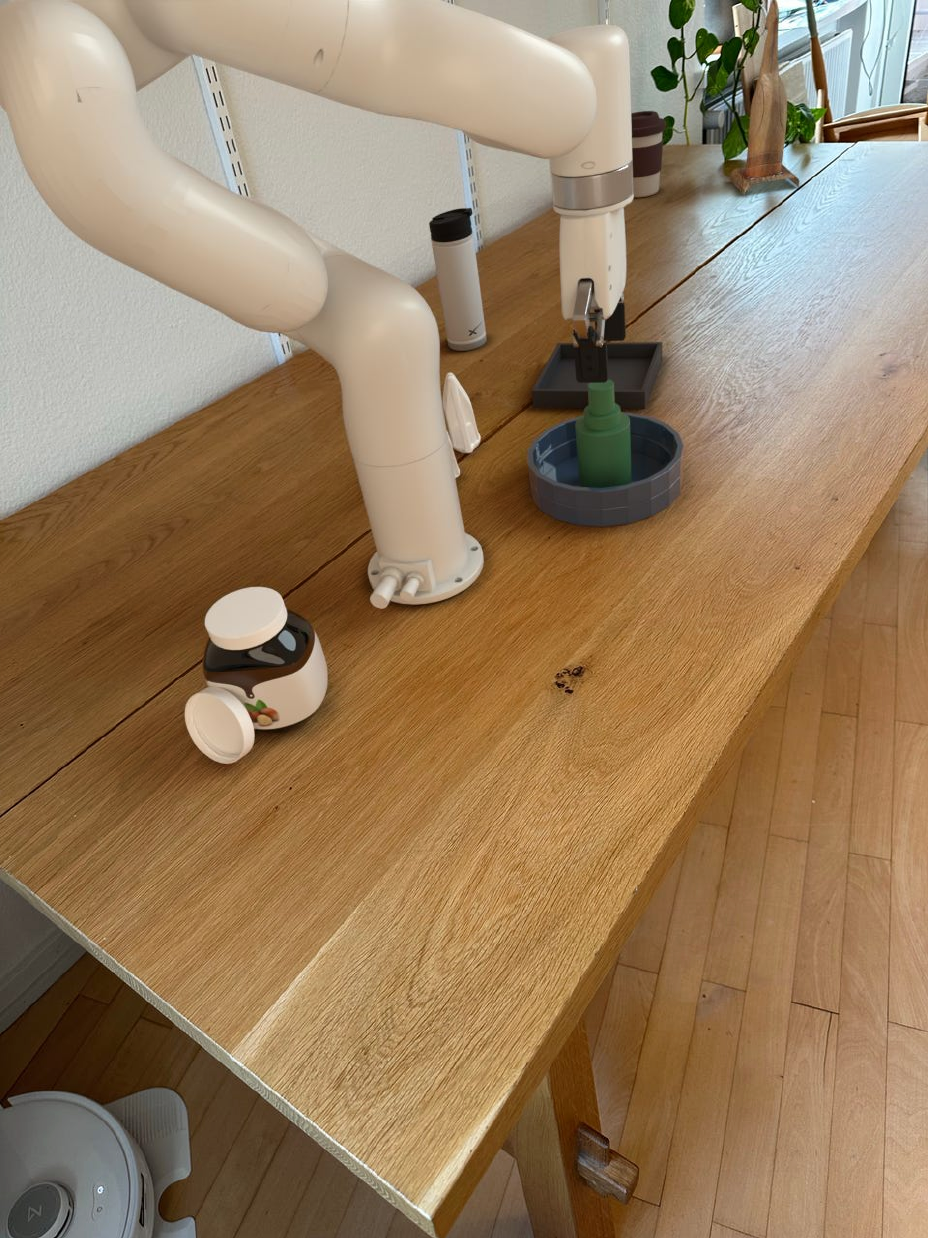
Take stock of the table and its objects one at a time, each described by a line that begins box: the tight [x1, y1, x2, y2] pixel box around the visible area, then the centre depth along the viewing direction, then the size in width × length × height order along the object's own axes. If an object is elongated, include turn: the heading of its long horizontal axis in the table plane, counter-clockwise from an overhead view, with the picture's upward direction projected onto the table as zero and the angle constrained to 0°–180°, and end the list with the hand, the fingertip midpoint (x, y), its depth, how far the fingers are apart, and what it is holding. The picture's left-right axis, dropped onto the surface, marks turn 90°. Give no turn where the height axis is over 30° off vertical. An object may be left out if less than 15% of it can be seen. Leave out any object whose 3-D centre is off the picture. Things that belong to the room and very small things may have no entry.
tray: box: [531, 341, 663, 410], centre depth 121 cm, size 15×15×3 cm
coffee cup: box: [631, 110, 667, 199], centre depth 183 cm, size 10×10×15 cm
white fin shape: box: [442, 372, 482, 479], centre depth 107 cm, size 12×4×11 cm, turn 156°
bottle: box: [575, 379, 632, 488], centre depth 97 cm, size 6×6×12 cm
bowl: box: [526, 412, 685, 528], centre depth 100 cm, size 17×17×5 cm
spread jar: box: [184, 586, 329, 765], centre depth 76 cm, size 12×11×12 cm
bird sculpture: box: [729, 0, 800, 196], centre depth 169 cm, size 11×12×32 cm
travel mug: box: [428, 207, 487, 352], centre depth 133 cm, size 6×7×20 cm
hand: (602, 359), depth 92 cm, fingers open, 9 cm apart
